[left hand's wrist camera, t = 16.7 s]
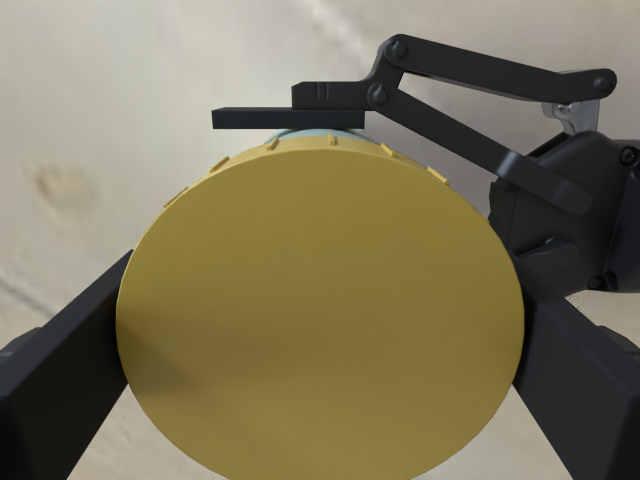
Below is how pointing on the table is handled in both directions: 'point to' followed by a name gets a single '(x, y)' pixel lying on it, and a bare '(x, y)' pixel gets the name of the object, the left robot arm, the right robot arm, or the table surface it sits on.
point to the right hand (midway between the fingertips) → (227, 217)
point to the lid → (320, 315)
